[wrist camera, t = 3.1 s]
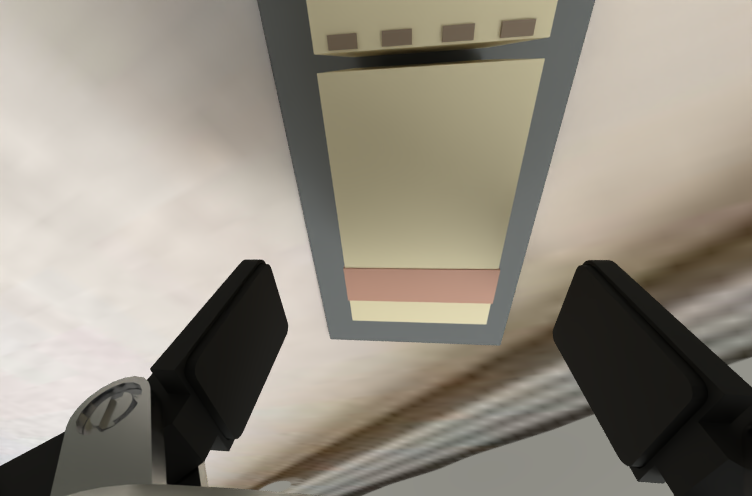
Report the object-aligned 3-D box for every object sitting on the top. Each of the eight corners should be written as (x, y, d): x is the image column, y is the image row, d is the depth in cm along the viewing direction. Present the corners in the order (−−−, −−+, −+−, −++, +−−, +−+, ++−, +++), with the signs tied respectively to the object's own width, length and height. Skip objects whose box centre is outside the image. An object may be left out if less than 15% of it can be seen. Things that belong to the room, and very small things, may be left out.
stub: (352, 68, 12) (314, 73, 7) (487, 59, 12) (548, 57, 7) (367, 244, 17) (351, 321, 12) (463, 244, 17) (487, 325, 12)
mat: (78, -875, 5) (50, -956, 5) (927, -1281, 4) (992, -1446, 3) (331, 334, 23) (330, 339, 23) (498, 340, 22) (500, 345, 21)
